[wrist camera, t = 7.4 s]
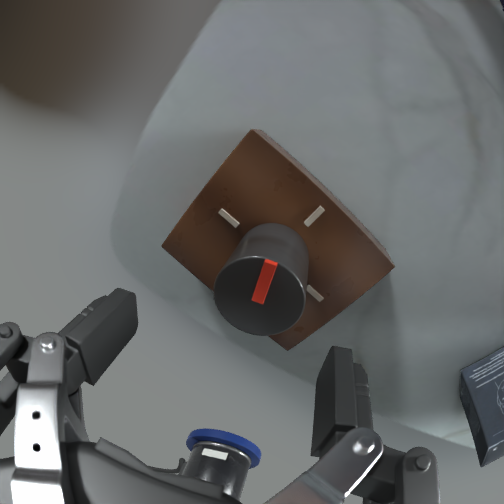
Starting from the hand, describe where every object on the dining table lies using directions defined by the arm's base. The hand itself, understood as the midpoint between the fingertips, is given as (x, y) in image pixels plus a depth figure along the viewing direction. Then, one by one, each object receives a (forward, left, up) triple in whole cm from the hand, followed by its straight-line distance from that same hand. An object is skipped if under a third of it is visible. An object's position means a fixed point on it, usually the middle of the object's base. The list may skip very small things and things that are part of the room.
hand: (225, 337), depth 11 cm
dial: (0, -1, -8) cm, 8 cm away
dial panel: (0, -1, -11) cm, 11 cm away
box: (+6, -28, -11) cm, 30 cm away
